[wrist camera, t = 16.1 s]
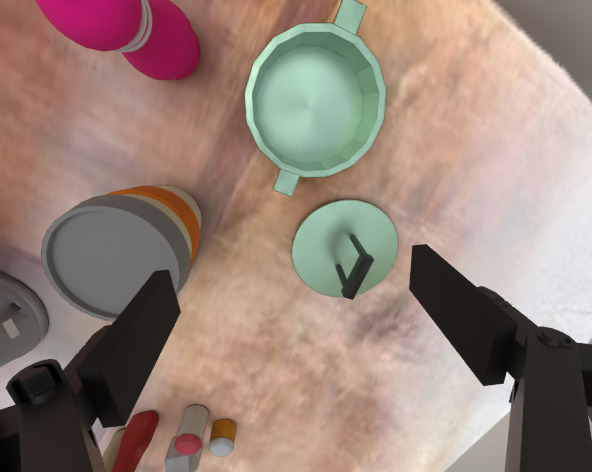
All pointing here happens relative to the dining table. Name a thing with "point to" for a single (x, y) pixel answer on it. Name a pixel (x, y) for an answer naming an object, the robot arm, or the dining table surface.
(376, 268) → the lid
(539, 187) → the dining table surface
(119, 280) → the reusable coffee cup
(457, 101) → the dining table surface
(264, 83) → the pot
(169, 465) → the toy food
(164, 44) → the pepper mill
